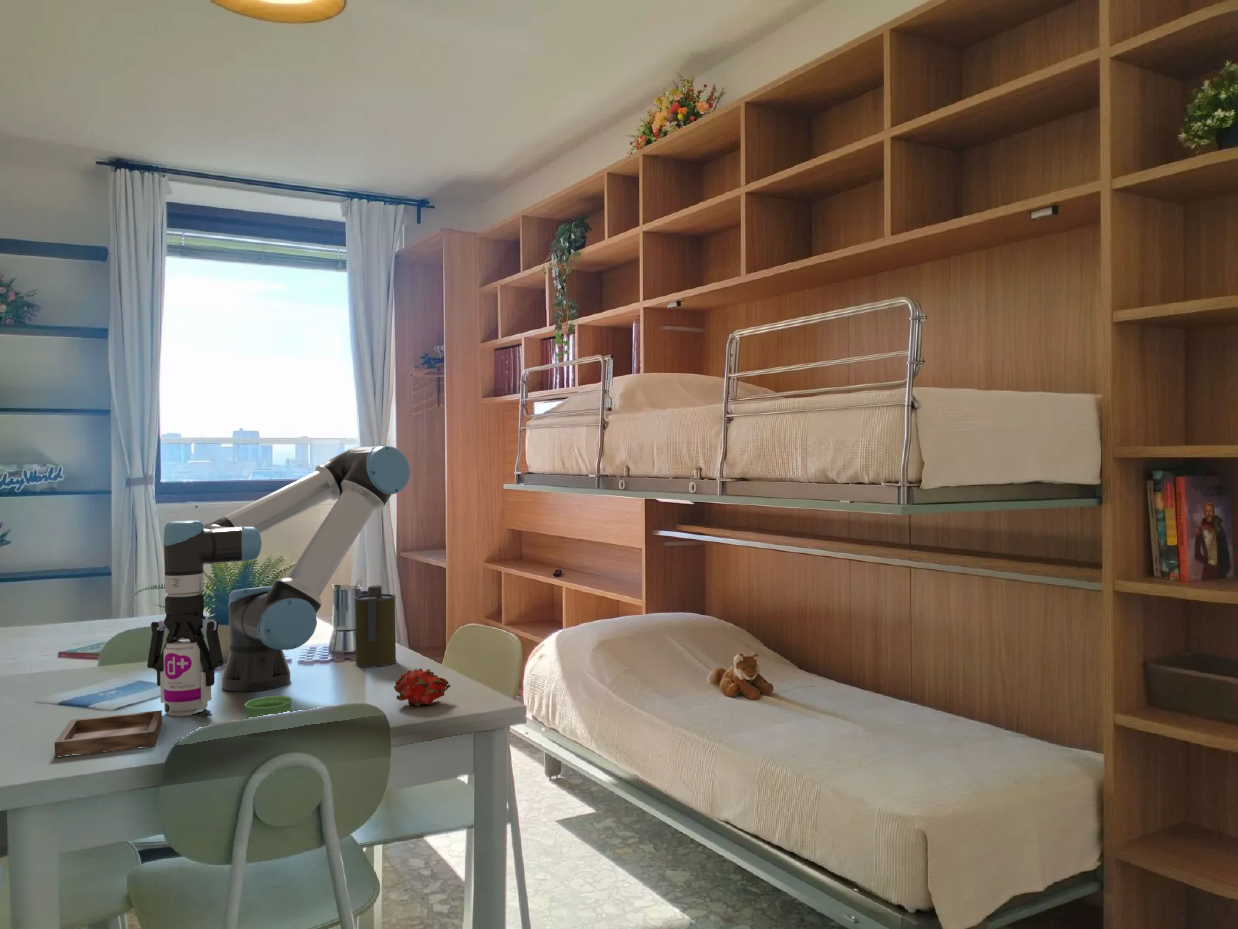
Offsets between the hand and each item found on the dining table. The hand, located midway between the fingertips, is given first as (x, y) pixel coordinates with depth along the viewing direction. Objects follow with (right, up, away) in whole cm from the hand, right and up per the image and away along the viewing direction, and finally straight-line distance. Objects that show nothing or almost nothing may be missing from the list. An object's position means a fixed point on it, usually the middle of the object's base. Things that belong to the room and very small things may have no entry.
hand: (186, 701), depth 194 cm
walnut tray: (-5, -2, -19) cm, 20 cm away
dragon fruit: (+49, -2, +4) cm, 49 cm away
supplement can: (0, -2, 0) cm, 2 cm away
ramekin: (+21, -2, -9) cm, 23 cm away
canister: (+28, -2, +45) cm, 53 cm away
